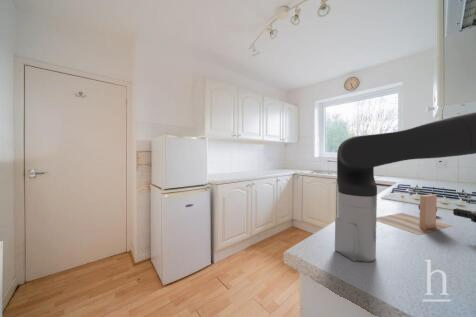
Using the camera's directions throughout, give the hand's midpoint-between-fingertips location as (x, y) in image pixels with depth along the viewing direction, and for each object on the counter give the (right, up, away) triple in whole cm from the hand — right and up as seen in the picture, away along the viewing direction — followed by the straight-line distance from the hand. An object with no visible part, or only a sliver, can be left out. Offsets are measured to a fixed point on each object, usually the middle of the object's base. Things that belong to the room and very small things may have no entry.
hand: (454, 211), depth 60 cm
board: (-4, -9, +12) cm, 15 cm away
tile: (-2, -8, +6) cm, 10 cm away
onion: (+14, -9, +21) cm, 27 cm away
